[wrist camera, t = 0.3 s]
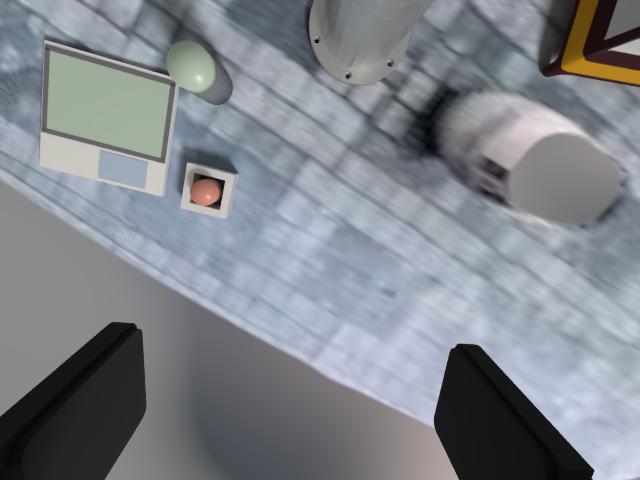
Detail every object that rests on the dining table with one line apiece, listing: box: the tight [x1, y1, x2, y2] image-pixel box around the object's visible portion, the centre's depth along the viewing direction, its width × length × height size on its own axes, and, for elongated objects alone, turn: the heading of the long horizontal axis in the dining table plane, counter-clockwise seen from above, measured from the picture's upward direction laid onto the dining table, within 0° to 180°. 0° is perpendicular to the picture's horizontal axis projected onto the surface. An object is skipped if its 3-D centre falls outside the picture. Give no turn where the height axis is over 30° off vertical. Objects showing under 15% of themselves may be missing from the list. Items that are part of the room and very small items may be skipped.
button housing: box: [180, 162, 239, 219], centre depth 41 cm, size 6×6×3 cm
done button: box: [190, 179, 222, 206], centre depth 39 cm, size 3×3×3 cm
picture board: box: [40, 40, 180, 196], centre depth 39 cm, size 15×16×1 cm
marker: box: [166, 40, 233, 105], centre depth 34 cm, size 4×4×9 cm
